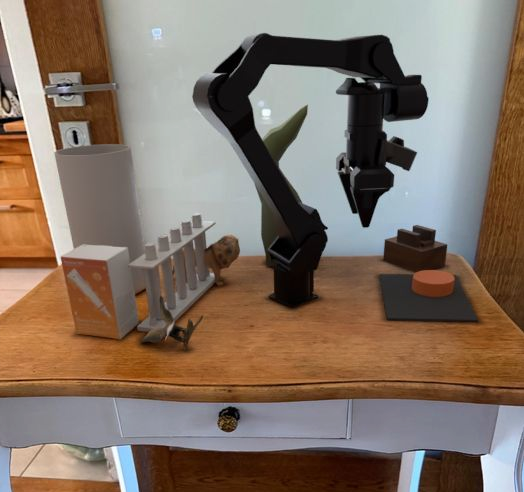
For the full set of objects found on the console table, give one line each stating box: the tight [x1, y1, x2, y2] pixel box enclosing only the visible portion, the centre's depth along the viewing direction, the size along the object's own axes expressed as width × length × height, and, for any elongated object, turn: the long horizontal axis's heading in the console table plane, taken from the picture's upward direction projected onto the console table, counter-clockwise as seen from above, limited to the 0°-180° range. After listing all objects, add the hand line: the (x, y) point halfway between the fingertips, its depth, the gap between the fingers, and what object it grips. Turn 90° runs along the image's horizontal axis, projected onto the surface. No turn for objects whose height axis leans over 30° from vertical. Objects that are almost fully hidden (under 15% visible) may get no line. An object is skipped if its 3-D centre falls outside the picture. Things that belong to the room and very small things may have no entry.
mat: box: [379, 273, 479, 323], centre depth 96 cm, size 20×14×1 cm
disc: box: [412, 269, 455, 297], centre depth 97 cm, size 2×7×7 cm
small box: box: [60, 245, 140, 340], centre depth 86 cm, size 8×6×13 cm
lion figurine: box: [172, 234, 241, 287], centre depth 104 cm, size 15×5×9 cm, turn 87°
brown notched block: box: [382, 224, 448, 273], centre depth 110 cm, size 7×10×7 cm
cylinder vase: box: [53, 143, 146, 295], centre depth 99 cm, size 12×12×25 cm
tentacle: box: [253, 104, 309, 268], centre depth 107 cm, size 9×12×30 cm
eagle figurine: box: [140, 295, 204, 351], centre depth 83 cm, size 8×7×9 cm
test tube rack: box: [128, 212, 217, 333], centre depth 95 cm, size 25×4×13 cm, turn 162°
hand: (360, 220), depth 97 cm, fingers open, 9 cm apart
